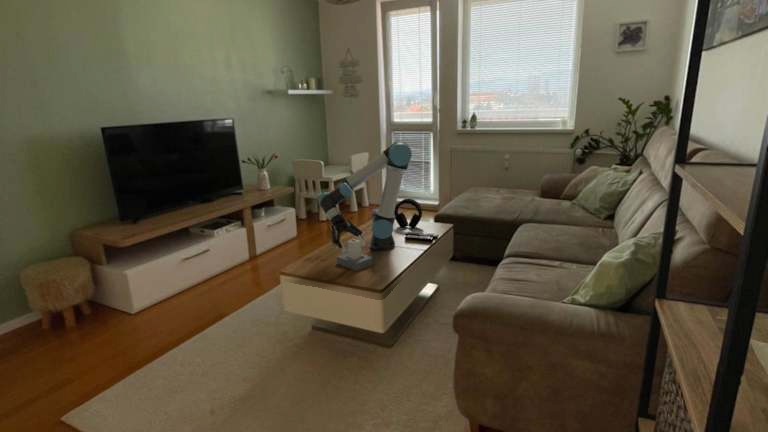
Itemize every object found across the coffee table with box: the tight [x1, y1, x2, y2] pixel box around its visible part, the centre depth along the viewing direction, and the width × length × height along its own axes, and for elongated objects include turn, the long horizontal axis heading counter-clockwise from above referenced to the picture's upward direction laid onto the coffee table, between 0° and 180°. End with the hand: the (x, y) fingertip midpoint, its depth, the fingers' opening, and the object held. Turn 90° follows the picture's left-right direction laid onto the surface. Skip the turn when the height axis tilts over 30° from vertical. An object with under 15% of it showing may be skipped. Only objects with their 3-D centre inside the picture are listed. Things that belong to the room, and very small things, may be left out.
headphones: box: [394, 198, 423, 229], centre depth 293 cm, size 19×7×20 cm, turn 73°
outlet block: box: [336, 252, 374, 272], centre depth 230 cm, size 16×12×4 cm
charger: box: [346, 238, 362, 261], centre depth 228 cm, size 5×5×12 cm
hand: (355, 249), depth 227 cm, fingers open, 13 cm apart
